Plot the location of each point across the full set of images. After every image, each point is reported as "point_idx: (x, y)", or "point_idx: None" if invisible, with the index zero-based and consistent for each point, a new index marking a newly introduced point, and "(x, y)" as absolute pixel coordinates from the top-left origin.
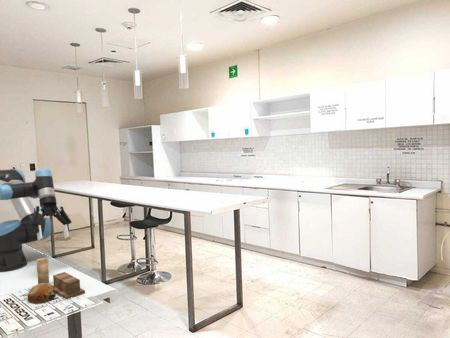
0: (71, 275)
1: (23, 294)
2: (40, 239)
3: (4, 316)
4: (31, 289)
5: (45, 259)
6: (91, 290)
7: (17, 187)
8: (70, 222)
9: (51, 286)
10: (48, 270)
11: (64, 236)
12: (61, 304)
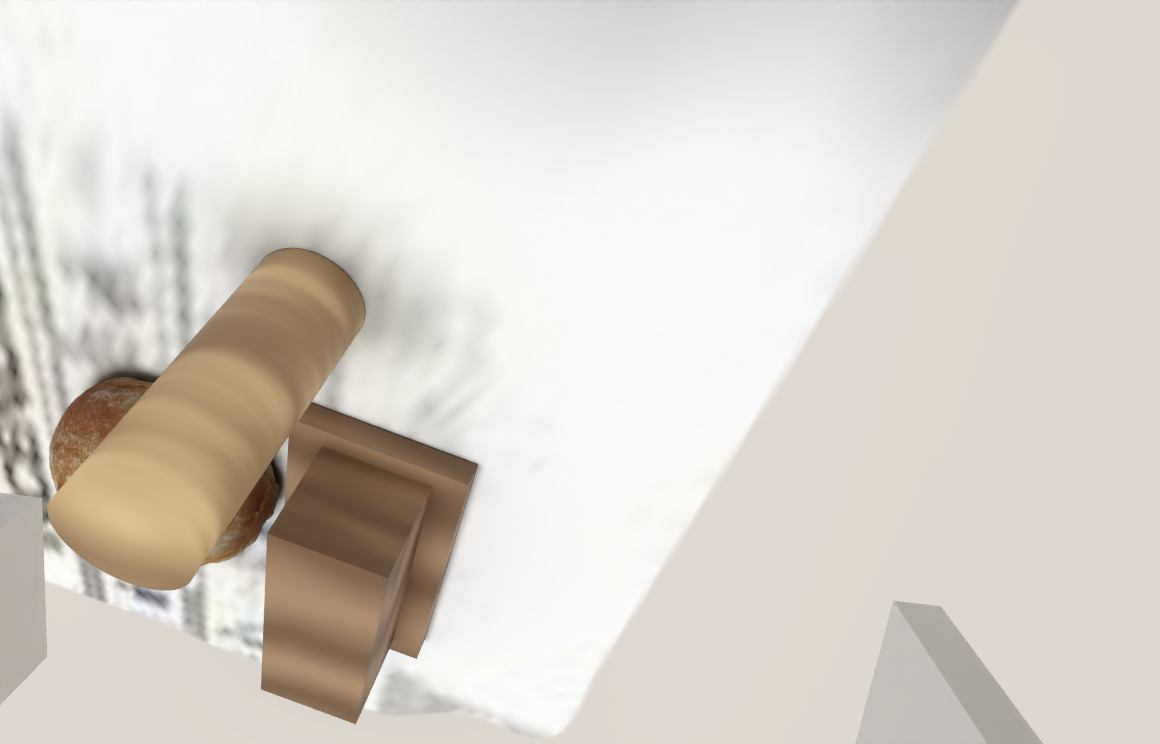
0: (370, 656)
1: (93, 264)
2: (34, 566)
3: None
4: (55, 480)
5: (153, 577)
6: (478, 654)
7: None
8: None
9: (208, 558)
10: (277, 451)
11: (912, 651)
12: (239, 594)
